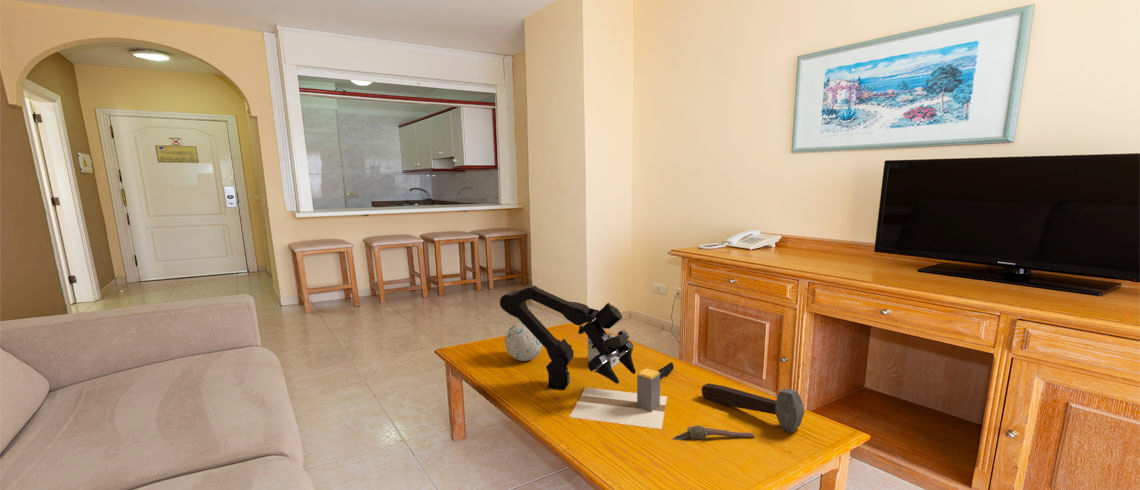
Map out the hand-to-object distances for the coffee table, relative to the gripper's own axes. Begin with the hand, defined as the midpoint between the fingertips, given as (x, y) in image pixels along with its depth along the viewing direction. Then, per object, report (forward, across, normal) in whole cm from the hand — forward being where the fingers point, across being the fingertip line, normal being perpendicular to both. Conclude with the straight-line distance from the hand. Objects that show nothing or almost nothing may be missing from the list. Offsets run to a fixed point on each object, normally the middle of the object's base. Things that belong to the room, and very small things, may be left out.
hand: (626, 378), depth 147 cm
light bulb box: (-12, +20, +23) cm, 33 cm away
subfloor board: (+6, -5, +5) cm, 9 cm away
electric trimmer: (+5, +23, +7) cm, 25 cm away
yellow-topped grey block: (+10, 0, -1) cm, 11 cm away
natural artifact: (+27, -3, -16) cm, 32 cm away
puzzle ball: (-30, +3, +42) cm, 52 cm away
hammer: (+29, +17, -17) cm, 37 cm away
